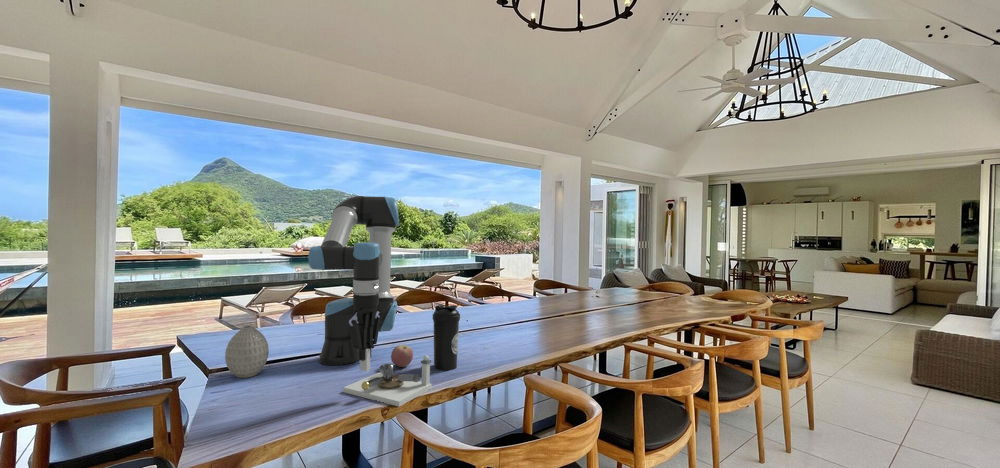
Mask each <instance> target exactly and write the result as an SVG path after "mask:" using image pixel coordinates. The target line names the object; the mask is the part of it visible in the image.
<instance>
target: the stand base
mask: <svg viewBox="0 0 1000 468" xmlns="http://www.w3.org/2000/svg"><path fill="white" fill-rule="evenodd" d="M422 358H423V360H421V361H420V364H421V380H420V381H419V382H412V381H404V384H403V385H402V386H400V387H398V388H393V389H384V388H380V387H379V386H378V385H376V386H374V387H371V388H368V389H367V390H363V389H362V387H361V385H362V383H363V382H365V381H369V380H372V379H375V378H377V377H379V378H380V377H382V376H383V374H382V373H381V372H380V371H379V372H377V373H374V374H372V375H370V376H368V377H365V378H363V379H360V380H358V381H356V382H355V381H354V382H353V383H351V384H348V385H346V386H344V387H343V393H346V394H349V395H353V396H357V397H360V398H366V399H368V400H372V401H375V400H377V401H376V402H379V401H380V403H383V402H384V403H383V404H388V405H390V406H396V407H398V408H399V407H401V406H403V405H404V404H407V403H408V402H410V401H412V400H414V399H415V398H418V397H420V396H421V395H422V393H423V394H424V393H426V392H428V391H429V389H430V390H432V387H433V386H432V385H433V384H432V383H431V381H430V380H431V379H430V378H431V377H430V375H431V363H432V360H430V357H429V355H423V357H422Z"/></svg>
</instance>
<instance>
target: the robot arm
mask: <svg viewBox="0 0 1000 468" xmlns="http://www.w3.org/2000/svg"><path fill="white" fill-rule="evenodd" d="M398 209H399V208H398V202H397V199H396V198H394V197H389V196H385V195H384V196H371V195H370V196H366V195H364V196H363V195H356V196H352V197H349V198H346V199H344V200H343V201H341V202H340V203H339V204H337V205H336V206H335V207H334V208H333V211H332V212H331V222H330V223H329V226H328V229H327V231H326V234H325V236H324V238H323V240H322V242H321V245H316V246H315V245H314V246H312V247H310V249H309V252H308V266H309V268H310V269H311V270H319V271H321V270H322V271H335V270H336V271H337V270H338V271H339V270H340V271H341V270H342V271H344V270H345V271H353V280H352V292H353V293H354V294H353V295H352V297H346V298H345V297H344V298H340V299H334V300H331V301H329V302H328V303H327V304H326V305H325V312H324V341H323V344H322V348H321V352H319V363H321V364H323V365H326V366H340V365H349V364H353V363H356V362H359V370H360V371H365V372H369V371H370V370H371V358H372V349H374V348H375V345H377V342H378V337H379V333H382V332H383V333H384V332H390V331H392V330H393V329H394V326H395V320H396V315H397V309H398V308H397V307H398V302H397V301H395V300H394V296H393V294H391V268H392V267H391V265H392V263H391V260H392V234H393V233H394V232H395V231H396V227H398V226H399V225H400V220H399V211H398ZM356 225H361V226H365V230H366V231H367V232H368V233H369V235H368V236H369V241H364V242H362V241H360V242H356V243H354V245H353V246H347V244H348V241H349V238H350V235H351V233H352V228H354V227H355V226H356Z"/></svg>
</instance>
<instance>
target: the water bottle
mask: <svg viewBox="0 0 1000 468" xmlns="http://www.w3.org/2000/svg"><path fill="white" fill-rule="evenodd" d="M457 308H458V305H457V304H456V305H455V304H452V305H445V306H444V305H443V304H438V305H436V306H435V307H434V312H433V313H432V321H433V368H434V369H435V370H438V371H442V372H443V371H445V372H446V371H452V370H455V369H457V368H458V351H459V350H458V349H459V347H458V346H459V331H460V329H459V327H460V320H461V314H460V312H459V310H457Z"/></svg>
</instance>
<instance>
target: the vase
mask: <svg viewBox="0 0 1000 468" xmlns="http://www.w3.org/2000/svg"><path fill="white" fill-rule="evenodd" d="M269 351H270V349H269V343H268V340H267V338H266V337H265V335H264V334H263V333H262V332H261V331H259V330H258V329H257V328H256V327H255V326H254V325H251V324H250V325H243V326H241V327H240V328H239V330H238V331H237V332H236V333H234V335H233V336H232V337H231V338H230V340H229V341H228V343H227V345H226V348H225V354H224V359H225V360H224V361H225V364H226V367H227V369H228V370H229V372H230V373H231V374H232V375H233V376H235V377H236V378H238V379H247V378H251V377H255V376H257V375H258V374H260V372H261V371H262V370H263V369H264V367H265V365H266V363H267V362H268V358H269V353H270V352H269Z"/></svg>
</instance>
